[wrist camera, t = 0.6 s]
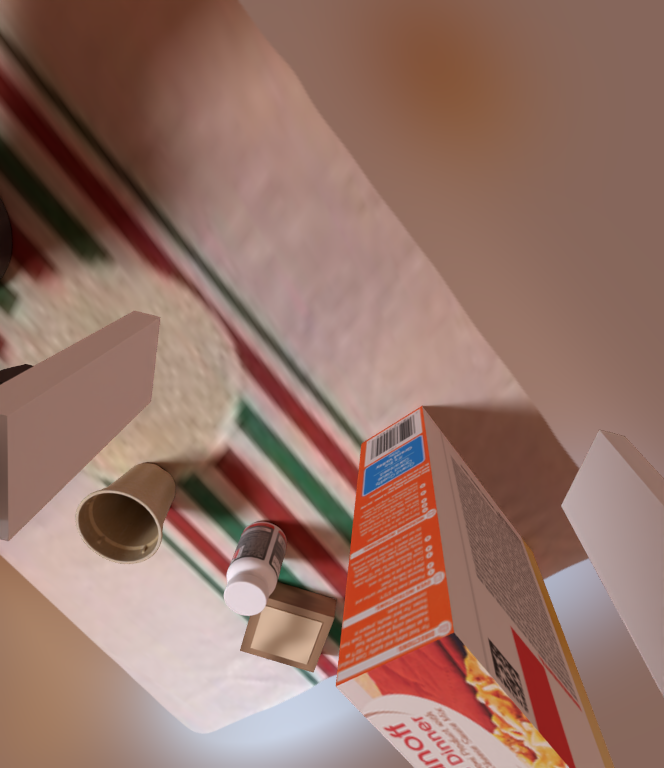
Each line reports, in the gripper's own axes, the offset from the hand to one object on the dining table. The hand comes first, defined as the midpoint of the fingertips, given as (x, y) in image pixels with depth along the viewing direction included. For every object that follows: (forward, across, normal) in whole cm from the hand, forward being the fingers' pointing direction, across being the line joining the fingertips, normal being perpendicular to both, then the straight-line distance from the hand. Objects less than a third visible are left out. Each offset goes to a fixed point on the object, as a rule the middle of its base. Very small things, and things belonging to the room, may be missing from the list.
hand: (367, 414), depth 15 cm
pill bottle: (+38, -4, -37) cm, 53 cm away
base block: (+38, +1, -49) cm, 61 cm away
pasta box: (+38, +15, -25) cm, 48 cm away
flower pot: (+38, -19, -34) cm, 54 cm away
